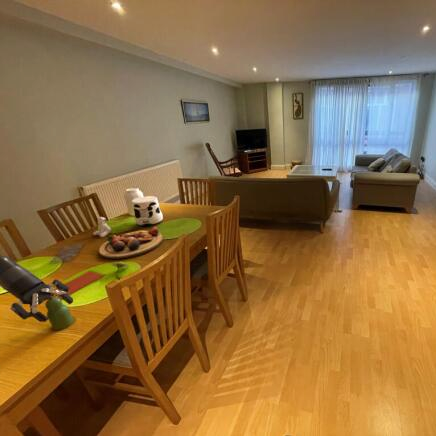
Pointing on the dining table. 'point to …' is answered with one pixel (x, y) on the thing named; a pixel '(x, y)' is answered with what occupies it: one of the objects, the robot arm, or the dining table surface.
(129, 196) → the white vase
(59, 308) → the pear
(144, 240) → the wooden plate
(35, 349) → the dining table surface
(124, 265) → the decorative flower
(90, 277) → the cloth
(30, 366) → the dining table surface
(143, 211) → the milk container
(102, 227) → the seated beast figurine
